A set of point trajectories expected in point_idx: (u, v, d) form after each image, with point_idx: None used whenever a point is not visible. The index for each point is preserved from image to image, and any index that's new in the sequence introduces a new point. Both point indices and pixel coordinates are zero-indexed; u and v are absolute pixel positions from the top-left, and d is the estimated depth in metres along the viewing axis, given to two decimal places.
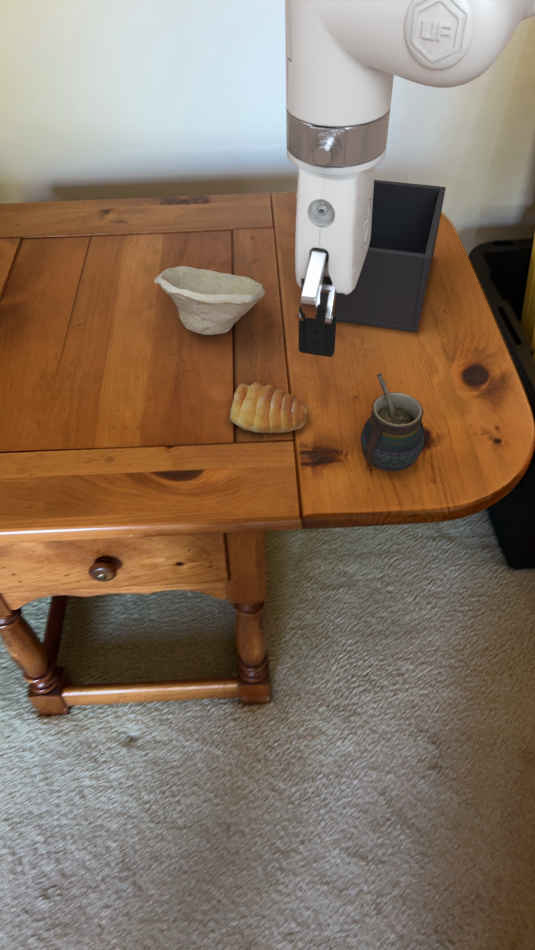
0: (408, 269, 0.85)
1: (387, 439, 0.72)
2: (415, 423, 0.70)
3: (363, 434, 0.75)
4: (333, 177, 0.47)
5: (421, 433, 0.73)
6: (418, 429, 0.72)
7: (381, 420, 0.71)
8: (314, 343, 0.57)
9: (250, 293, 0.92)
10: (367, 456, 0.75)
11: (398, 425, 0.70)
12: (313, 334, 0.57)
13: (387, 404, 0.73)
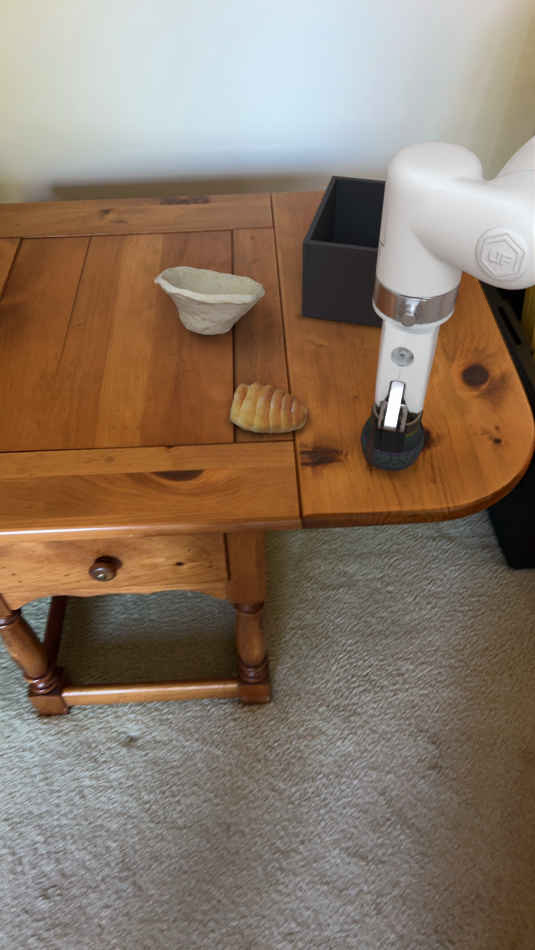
0: None
1: None
2: (415, 423, 0.70)
3: (363, 434, 0.75)
4: (414, 331, 0.59)
5: (421, 433, 0.73)
6: (418, 429, 0.72)
7: None
8: (387, 444, 0.70)
9: (250, 293, 0.92)
10: (367, 456, 0.75)
11: None
12: (387, 438, 0.69)
13: None
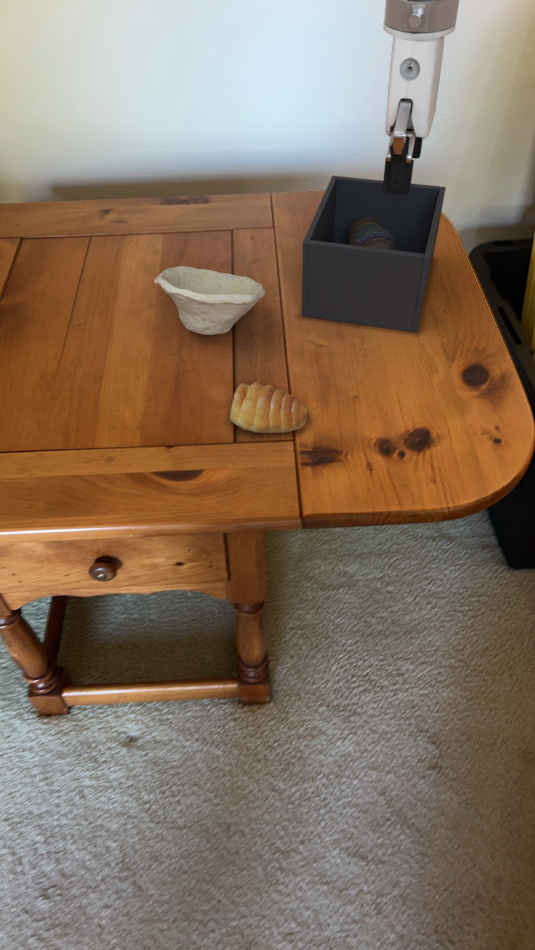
0: (408, 269, 0.85)
1: (359, 228, 0.97)
2: (375, 218, 0.99)
3: None
4: (420, 40, 0.67)
5: None
6: None
7: (351, 226, 0.99)
8: (396, 182, 0.77)
9: (250, 293, 0.92)
10: None
11: None
12: (396, 173, 0.76)
13: None
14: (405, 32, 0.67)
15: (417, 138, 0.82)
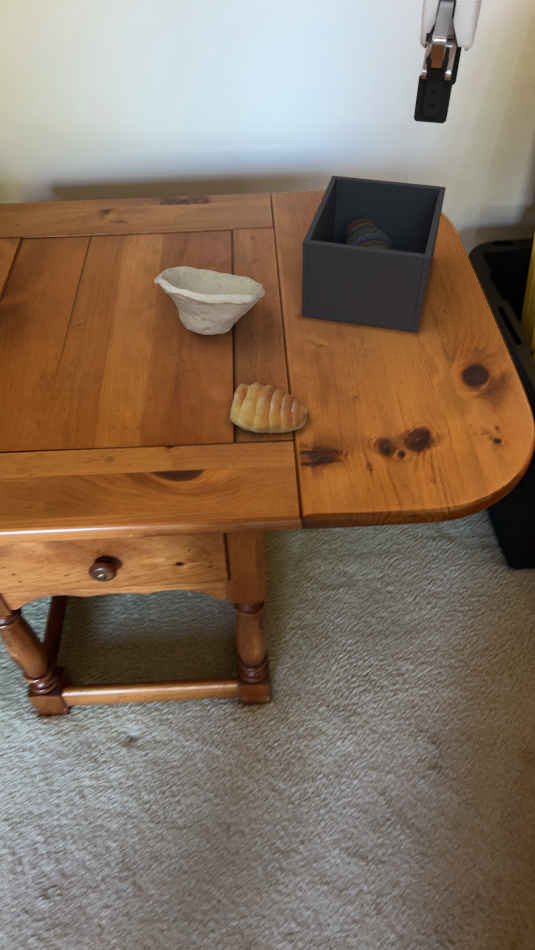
0: (408, 269, 0.85)
1: (352, 231, 0.97)
2: (368, 218, 0.98)
3: None
4: None
5: None
6: (376, 227, 0.98)
7: None
8: (431, 106, 0.64)
9: (250, 293, 0.92)
10: None
11: (355, 220, 0.98)
12: (431, 94, 0.63)
13: None
14: None
15: (453, 59, 0.69)
